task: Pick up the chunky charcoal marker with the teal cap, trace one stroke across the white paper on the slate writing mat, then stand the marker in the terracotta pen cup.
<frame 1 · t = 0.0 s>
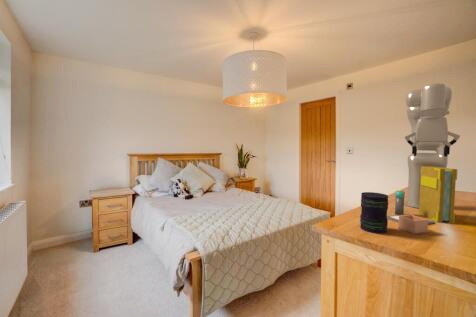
hand: (429, 156, 92), 31 cm above the table, tool pointing down, fingers open, 9 cm apart
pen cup: (412, 230, 92), on the table
book: (433, 217, 109), on the table
writing mat: (409, 220, 104), on the table
marker: (399, 214, 114), on the table
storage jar: (373, 229, 93), on the table
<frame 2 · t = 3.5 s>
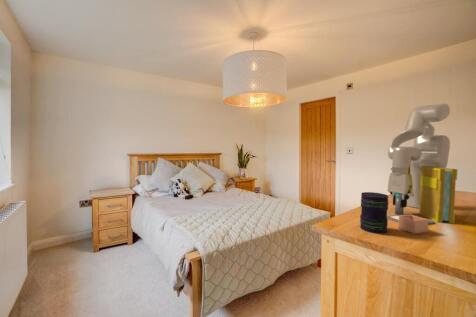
hand: (399, 205, 114), 4 cm above the table, tool pointing down, fingers closed on marker, 3 cm apart
marker: (399, 214, 114), on the table, touching gripper
everything else where it was.
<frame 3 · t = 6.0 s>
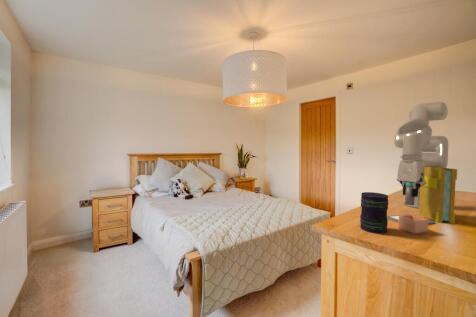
hand: (410, 195, 107), 11 cm above the table, tool pointing down, fingers closed on marker, 3 cm apart
marker: (409, 204, 107), point 7 cm above the table, touching gripper
everything else where it was.
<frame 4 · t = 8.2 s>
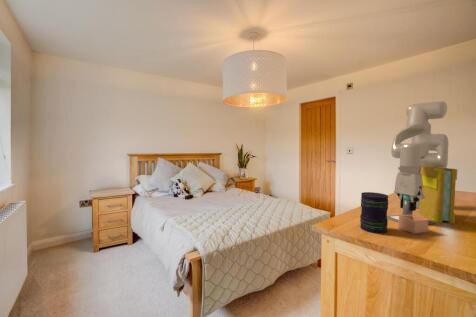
hand: (407, 208, 102), 6 cm above the table, tool pointing down, fingers closed on marker, 3 cm apart
marker: (407, 218, 103), point 2 cm above the table, touching gripper
everything else where it was.
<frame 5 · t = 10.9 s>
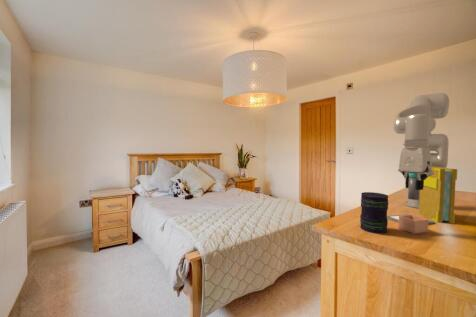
hand: (414, 188, 91), 18 cm above the table, tool pointing down, fingers closed on marker, 3 cm apart
marker: (413, 198, 91), point 13 cm above the table, touching gripper
everything else where it was.
when the fingers open (7 cm above the table, at t = 13.2 s): marker drops 2 cm, resting on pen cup.
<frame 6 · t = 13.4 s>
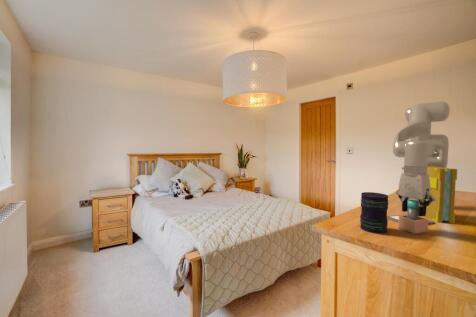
hand: (413, 213, 91), 7 cm above the table, tool pointing down, fingers open, 6 cm apart
marker: (412, 228, 92), point 1 cm above the table, touching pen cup
everything else where it was.
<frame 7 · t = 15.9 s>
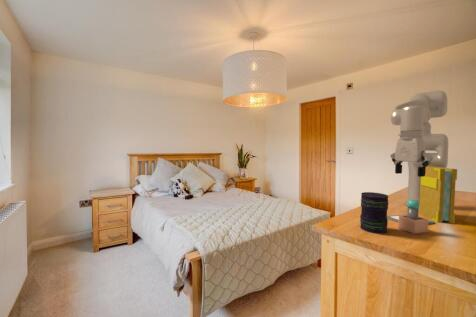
hand: (409, 174, 95), 23 cm above the table, tool pointing down, fingers open, 9 cm apart
nothing on the table moved.
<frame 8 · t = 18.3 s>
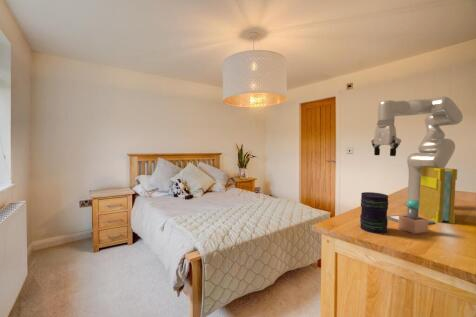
hand: (384, 155, 120), 30 cm above the table, tool pointing down, fingers open, 9 cm apart
nothing on the table moved.
at the end: marker 0.2 cm off-centre on the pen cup, point 0.6 cm above the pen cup's base; marker tilted 0°; the gripper is holding nothing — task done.
